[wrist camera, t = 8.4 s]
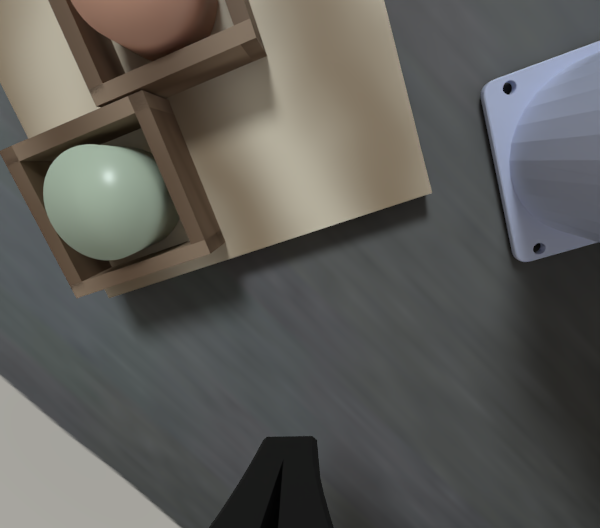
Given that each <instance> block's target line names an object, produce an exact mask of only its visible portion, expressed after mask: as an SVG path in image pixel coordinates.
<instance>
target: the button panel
mask: <svg viewBox="0 0 600 528" xmlns="http://www.w3.org/2000/svg"><path fill="white" fill-rule="evenodd" d="M0 83H1V85H2V87H3V89H4V91H5V93H6V95H7V97H8V99H9V101H10V103H11V105H12V107H13V109H14V111H15V113H16V115H17V116H18V118H19V120H20V122H21V124H22V126H23V128H24V130H25V132H26V134H27V136H28V138H29V139H27V140H24V141H22V142H20V143H17V144H15V145H13V146H10V147H8V148H6V149H3V150H1V151H0V154H1V156H2V158H3V160H4V162H5V164H6V166H7V167H8V169H9V171H10V173H11V175H12V177H13V179H14V181H15V183H16V184H17V186H18V188H19V190H20V192H21V194H22V196H23V198H24V200H25V201H26V203H27V205H28V207H29V209H30V211H31V213H32V215H33V217H34V218H35V220H36V222H37V224H38V226H39V228H40V230H41V232H42V234H43V236H44V237H45V239H46V241H47V243H48V245H49V247H50V249H51V251H52V253H53V254H54V256H55V258H56V260H57V262H58V264H59V266H60V268H61V270H62V271H63V273H64V275H65V277H66V279H67V281H68V283H69V285H70V287H71V288H72V290H73V292H74V294H75V296H76V298H79V297H82V296H85V295H88V294H91V293H94V292H97V291H100V290H103V289H105V291H106V293H107V295H108V297H109V298H111V297H114V296H117V295H120V294H123V293H127V292H130V291H133V290H136V289H139V288H142V287H145V286H148V285H151V284H154V283H157V282H160V281H163V280H166V279H169V278H173V277H176V276H179V275H182V274H185V273H188V272H191V271H194V270H197V269H200V268H203V267H206V266H209V265H212V264H216V263H219V262H222V261H225V260H228V259H231V258H234V257H237V256H240V255H243V254H246V253H249V252H252V251H255V250H258V249H262V248H265V247H268V246H271V245H274V244H277V243H280V242H283V241H286V240H289V239H292V238H295V237H298V236H301V235H305V234H308V233H311V232H314V231H317V230H320V229H323V228H326V227H329V226H332V225H335V224H338V223H341V222H344V221H347V220H351V219H354V218H357V217H360V216H363V215H366V214H369V213H372V212H375V211H378V210H381V209H384V208H387V207H390V206H394V205H397V204H400V203H403V202H406V201H409V200H412V199H415V198H418V197H421V196H424V195H427V194H430V193H432V191H431V187H430V183H429V179H428V175H427V171H426V167H425V163H424V159H423V155H422V151H421V147H420V143H419V139H418V135H417V131H416V127H415V123H414V119H413V115H412V111H411V107H410V103H409V99H408V95H407V91H406V87H405V83H404V79H403V74H402V70H401V66H400V62H399V58H398V54H397V50H396V46H395V42H394V38H393V34H392V30H391V26H390V22H389V18H388V14H387V10H386V6H385V2H384V0H217V13H216V19H215V23H214V26H213V29H212V31H211V34H210V36H209V37H207V38H204V39H202V40H200V41H198V42H195V43H193V44H191V45H189V46H186V47H184V48H182V49H180V50H177V51H175V52H173V53H170V54H168V55H166V56H164V57H161V58H159V59H157V60H155V61H150V60H148V59H145V58H143V57H141V56H140V55H138V54H136V53H134V52H132V51H131V50H129V49H127V48H125V47H123V46H122V45H120V44H118V43H116V42H115V41H113V40H111V39H109V38H107V37H106V36H104V35H102V34H101V33H99V32H97V31H96V30H95V29H94V28H92V27H91V26H90V25H89V24H88V23H87V22H86V21H85V20H84V19H83V18H82V17H81V15H80V14H79V13H78V12H77V10H76V8H75V7H74V5H73V4H72V2H71V0H0ZM85 144H95V145H108V146H122V147H133V148H139V149H143V150H145V151H148V152H150V153H152V154H153V156H154V159H155V161H156V163H157V166H158V168H159V170H160V173H161V175H162V177H163V180H164V182H165V184H166V187H167V189H168V191H169V194H170V196H171V198H172V201H173V203H174V205H175V208H176V210H177V212H178V215H179V220H178V223H177V225H176V226H175V228H174V229H173V231H172V232H171V233H170V234H169V235H168V236H167V237H166V238H164V239H163V240H161V241H159V242H157V243H155V244H153V245H151V246H149V247H147V248H144V249H142V250H140V251H138V252H136V253H134V254H132V255H129V256H127V257H125V258H122V259H118V260H99V259H94V258H91V257H88V256H85V255H83V254H81V253H79V252H78V251H76V250H75V249H73V248H72V247H70V246H69V245H68V244H67V243H66V242H65V241H64V240H63V239H62V238H61V237H60V236H59V235H58V233H57V232H56V231H55V229H54V227H53V226H52V224H51V222H50V220H49V218H48V215H47V212H46V209H45V205H44V198H43V187H44V181H45V177H46V174H47V171H48V169H49V167H50V165H51V164H52V163H53V161H54V160H55V159H56V158H57V157H58V156H59V155H60V154H61V153H63V152H64V151H66V150H68V149H70V148H72V147H75V146H79V145H85Z"/></svg>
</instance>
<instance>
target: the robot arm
mask: <svg viewBox="0 0 600 528" xmlns="http://www.w3.org/2000/svg"><path fill="white" fill-rule="evenodd" d="M505 82H508V83H510V84H511V86H512V91H511V92H510V94H509V95H507V94H505V93H504V91H503V85H504V84H505ZM481 102H482V107H483V112H484V117H485V122H486V126H487V131H488V136H489V141H490V146H491V151H492V156H493V161H494V166H495V171H496V176H497V181H498V185H499V190H500V195H501V200H502V205H503V210H504V215H505V220H506V225H507V230H508V235H509V239H510V244H511V249H512V254H513V256H514V257H515V258H516V259H517V260H519V261H522V262H530V261H534V260H537V259H541V258H544V257H548V256H551V255H555V254H559V253H562V252H566V251H569V250H573V249H576V248H580V247H583V246H587V245H590V244H594V243H598V242H599V243H600V41H598V42H595V43H592V44H589V45H587V46H584V47H581V48H579V49H576V50H573V51H570V52H568V53H565V54H562V55H559V56H557V57H554V58H551V59H549V60H546V61H543V62H540V63H538V64H535V65H532V66H529V67H527V68H524V69H521V70H519V71H516V72H513V73H510V74H508V75H505V76H502V77H499V78H497V79H494V80H492V81H490V82H488V83H487V84H486V85H485V86H484V87H483V88H482V91H481ZM537 243H540V245H541V246H540V249H539V250H538V251H536V252H534V251H533V247H534V246H535V245H536V244H537ZM209 528H333V524H332V521H331V518H330V514H329V511H328V507H327V504H326V500H325V496H324V493H323V488H322V484H321V479H320V471H319V459H318V448H317V440H316V439H315V438H314V437H313V436H298V437H266V438H265V439H264V440H263V442H262V444H261V446H260V447H259V449H258V451H257V453H256V455H255V457H254V458H253V460H252V462H251V464H250V465H249V467H248V469H247V470H246V472H245V474H244V475H243V477H242V479H241V480H240V482H239V484H238V485H237V487H236V488H235V490H234V491H233V493H232V494H231V496H230V498H229V499H228V501H227V502H226V504H225V505H224V507H223V508H222V510H221V511H220V513H219V514H218V516H217V517H216V519H215V520H214V521H213V523H212V524H211V526H210V527H209Z"/></svg>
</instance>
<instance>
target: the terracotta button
mask: <svg viewBox="0 0 600 528" xmlns="http://www.w3.org/2000/svg"><path fill="white" fill-rule="evenodd" d="M71 2H72V4H73V5H74V7H75V8H76V10H77V12H78V13H79V14H80V15H81V17H82V18H83V19H84V20H85V21H86V22H87V23H88V24H89V25H90V26H91V27H92V28H94V29H95V30H96V31H97V32H99V33H101V34H102V35H104V36H106V37H107V38H109V39H111V40H113V41H115V42H116V43H118V44H120V45H122V46H123V47H125V48H127V49H129V50H131V51H132V52H134V53H136V54H138V55H140V56H141V57H143V58H145V59H148V60H150V61H155V60H157V59H159V58H161V57H164V56H166V55H168V54H170V53H173V52H175V51H177V50H180V49H182V48H184V47H186V46H189V45H191V44H193V43H195V42H198V41H200V40H202V39H204V38H207V37H209V36H210V34H211V31H212V29H213V26H214V23H215V19H216V13H217V0H71Z"/></svg>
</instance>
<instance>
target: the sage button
mask: <svg viewBox="0 0 600 528" xmlns="http://www.w3.org/2000/svg"><path fill="white" fill-rule="evenodd" d="M43 198H44V205H45V209H46V212H47V215H48V218H49V220H50V222H51V224H52V226H53V227H54V229H55V231H56V232H57V233H58V235H59V236H60V237H61V238H62V239H63V240H64V241H65V242H66V243H67V244H68V245H69V246H70V247H72V248H73V249H75V250H76V251H78V252H79V253H81V254H83V255H85V256H88V257H91V258H94V259H99V260H118V259H122V258H125V257H127V256H129V255H132V254H134V253H136V252H138V251H140V250H142V249H144V248H147V247H149V246H151V245H153V244H155V243H157V242H159V241H161V240H163V239H164V238H166V237H167V236H168V235H169V234H170V233H171V232H172V231H173V229H174V228H175V226H176V225H177V223H178V220H179V215H178V212H177V210H176V208H175V205H174V203H173V201H172V198H171V196H170V194H169V191H168V189H167V187H166V184H165V182H164V180H163V177H162V175H161V173H160V170H159V168H158V166H157V163H156V161H155V159H154V156H153V154H152V153H150V152H148V151H145V150H143V149H139V148H133V147H122V146H108V145H95V144H85V145H79V146H75V147H72V148H70V149H68V150H66V151H64V152H63V153H61V154H60V155H59V156H58V157H57V158H56V159H55V160H54V161H53V163H52V164H51V165H50V167H49V169H48V171H47V174H46V177H45V181H44V187H43Z"/></svg>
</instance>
